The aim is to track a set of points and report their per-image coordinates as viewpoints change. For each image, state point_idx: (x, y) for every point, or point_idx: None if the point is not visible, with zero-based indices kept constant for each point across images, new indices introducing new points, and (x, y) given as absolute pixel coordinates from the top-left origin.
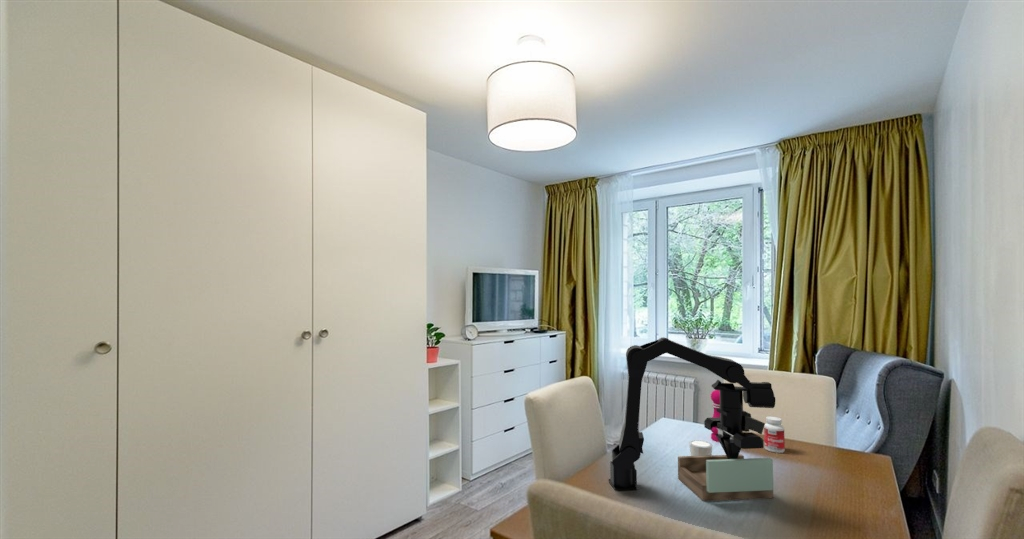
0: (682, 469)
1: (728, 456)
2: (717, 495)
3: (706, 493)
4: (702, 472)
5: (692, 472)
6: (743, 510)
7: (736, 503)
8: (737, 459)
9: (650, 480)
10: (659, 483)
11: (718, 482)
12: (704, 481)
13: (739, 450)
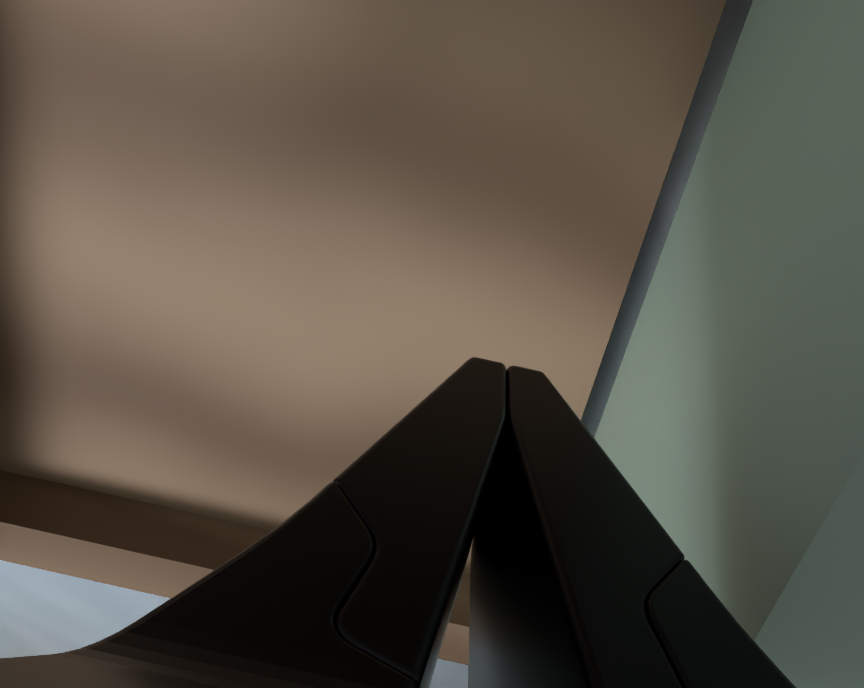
0: (31, 562)
1: (475, 617)
2: None
3: None
4: (13, 280)
5: (11, 394)
6: None
7: None
8: (795, 650)
9: (35, 644)
10: (100, 622)
11: None
12: (287, 444)
13: (744, 671)
